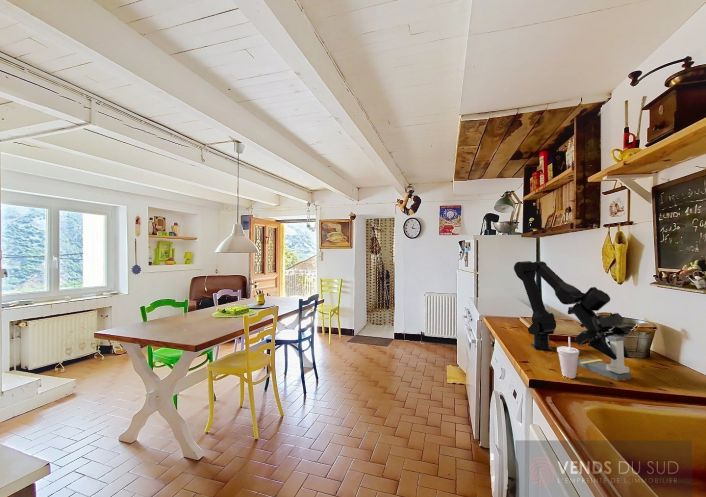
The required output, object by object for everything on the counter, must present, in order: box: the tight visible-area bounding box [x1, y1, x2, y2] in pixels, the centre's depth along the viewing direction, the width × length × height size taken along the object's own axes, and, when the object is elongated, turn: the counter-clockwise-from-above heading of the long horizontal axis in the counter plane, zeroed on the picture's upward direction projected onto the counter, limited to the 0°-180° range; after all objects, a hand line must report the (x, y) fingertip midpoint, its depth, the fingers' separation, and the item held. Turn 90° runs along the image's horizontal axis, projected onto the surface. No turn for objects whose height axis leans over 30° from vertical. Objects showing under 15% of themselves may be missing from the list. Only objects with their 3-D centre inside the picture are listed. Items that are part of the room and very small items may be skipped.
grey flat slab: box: [577, 357, 632, 381], centre depth 107 cm, size 14×9×2 cm, turn 12°
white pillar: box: [606, 335, 630, 374], centre depth 102 cm, size 4×4×12 cm
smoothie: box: [556, 336, 580, 378], centre depth 104 cm, size 6×6×14 cm
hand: (621, 358), depth 101 cm, fingers open, 5 cm apart
